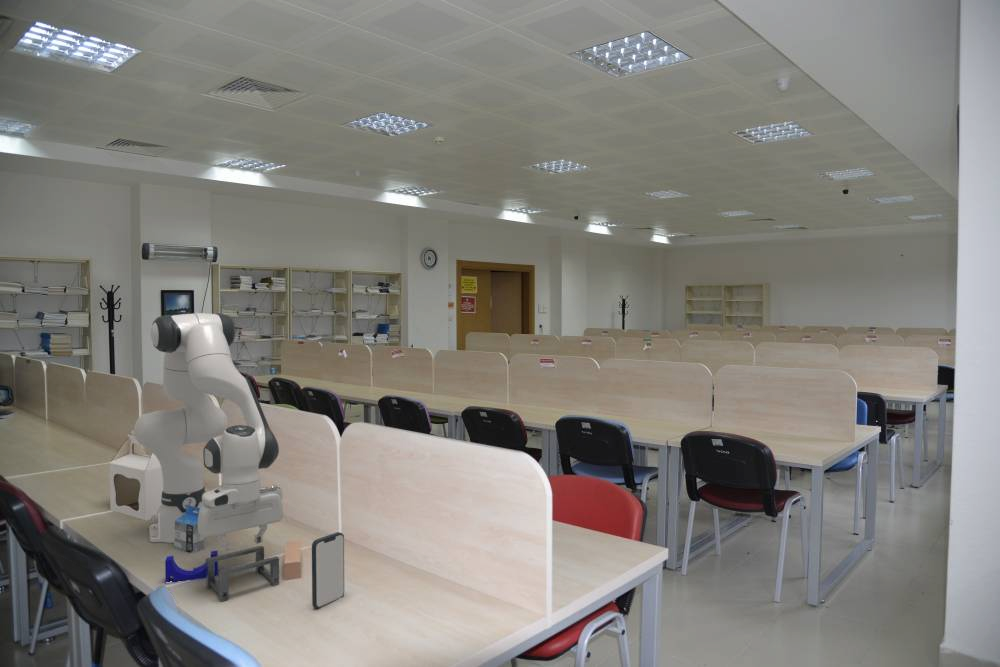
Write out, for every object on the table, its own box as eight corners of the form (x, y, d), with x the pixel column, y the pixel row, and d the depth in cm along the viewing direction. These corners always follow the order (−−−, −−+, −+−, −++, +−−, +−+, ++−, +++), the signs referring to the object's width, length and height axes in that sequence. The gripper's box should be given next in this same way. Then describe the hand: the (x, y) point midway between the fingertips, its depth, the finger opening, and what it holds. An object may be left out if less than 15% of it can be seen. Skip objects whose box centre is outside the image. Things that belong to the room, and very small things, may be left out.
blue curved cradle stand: (218, 570, 171) (217, 548, 171) (217, 577, 167) (216, 554, 167) (168, 577, 167) (167, 554, 167) (165, 584, 163) (165, 560, 163)
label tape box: (173, 549, 186) (172, 507, 186) (186, 545, 190) (185, 504, 189) (192, 555, 182) (192, 512, 182) (205, 550, 185) (204, 508, 185)
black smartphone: (340, 595, 156) (340, 530, 155) (345, 597, 155) (344, 531, 155) (310, 608, 149) (310, 540, 148) (315, 610, 148) (314, 542, 147)
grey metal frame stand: (206, 586, 161) (205, 558, 161) (262, 571, 170) (261, 545, 170) (221, 602, 152) (221, 572, 152) (279, 585, 162) (278, 558, 161)
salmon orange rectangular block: (285, 559, 179) (285, 542, 179) (300, 558, 180) (300, 540, 180) (284, 582, 164) (284, 563, 164) (300, 580, 165) (300, 561, 165)
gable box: (109, 512, 221) (108, 431, 220) (147, 503, 232) (146, 426, 231) (146, 523, 209) (144, 438, 208) (184, 512, 221) (182, 431, 220)
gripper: (277, 481, 170) (278, 533, 170) (194, 496, 156) (195, 552, 157) (287, 486, 165) (287, 539, 165) (202, 502, 152) (203, 560, 152)
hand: (242, 546), depth 161 cm, fingers open, 7 cm apart
